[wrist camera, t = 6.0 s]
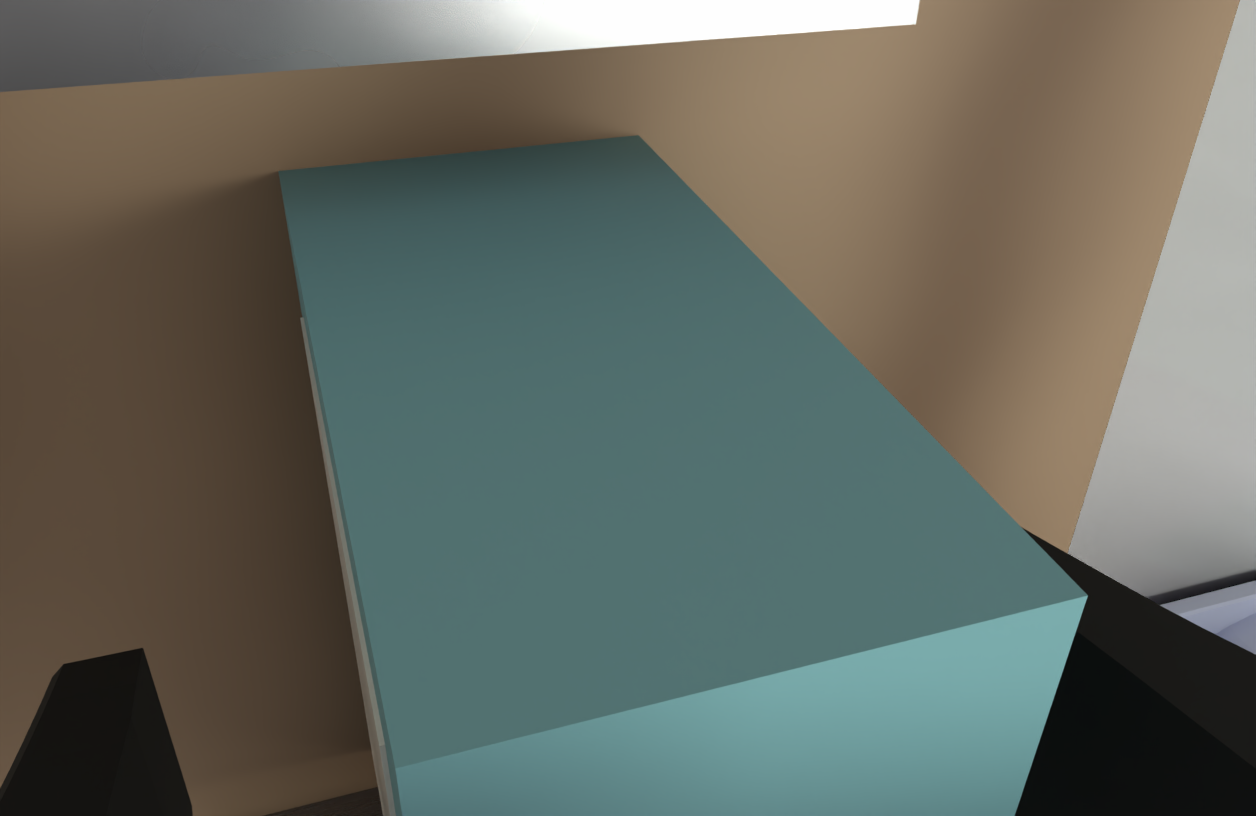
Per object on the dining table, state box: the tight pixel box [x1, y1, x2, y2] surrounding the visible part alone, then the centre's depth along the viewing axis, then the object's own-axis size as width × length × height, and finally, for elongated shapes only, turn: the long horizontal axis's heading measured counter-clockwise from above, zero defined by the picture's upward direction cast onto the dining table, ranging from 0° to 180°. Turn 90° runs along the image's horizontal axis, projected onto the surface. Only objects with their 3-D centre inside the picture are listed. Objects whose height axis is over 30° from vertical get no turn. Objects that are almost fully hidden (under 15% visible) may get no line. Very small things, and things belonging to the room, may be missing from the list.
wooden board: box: [0, 0, 1240, 816], centre depth 13 cm, size 18×14×3 cm
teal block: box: [278, 135, 1088, 816], centre depth 10 cm, size 4×8×7 cm, turn 179°
